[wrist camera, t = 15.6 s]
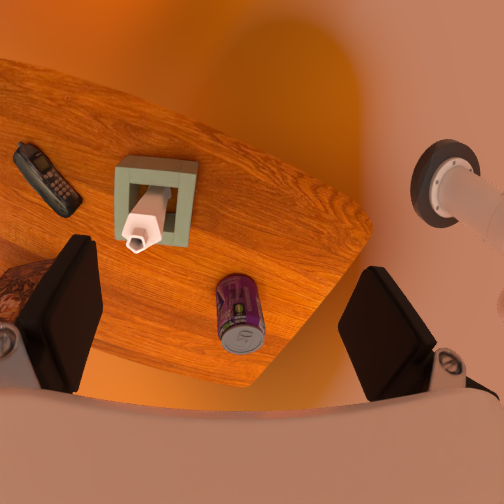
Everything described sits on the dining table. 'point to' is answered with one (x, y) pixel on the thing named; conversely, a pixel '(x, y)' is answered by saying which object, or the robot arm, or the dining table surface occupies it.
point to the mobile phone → (46, 180)
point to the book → (19, 288)
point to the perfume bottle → (147, 219)
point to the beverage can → (239, 315)
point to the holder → (157, 174)
